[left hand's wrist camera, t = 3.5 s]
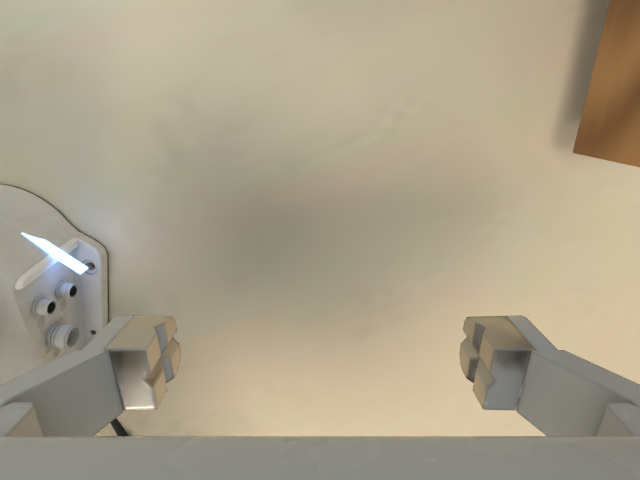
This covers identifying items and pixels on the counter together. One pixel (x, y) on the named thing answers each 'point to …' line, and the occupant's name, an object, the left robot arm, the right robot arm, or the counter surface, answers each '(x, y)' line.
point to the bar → (614, 90)
